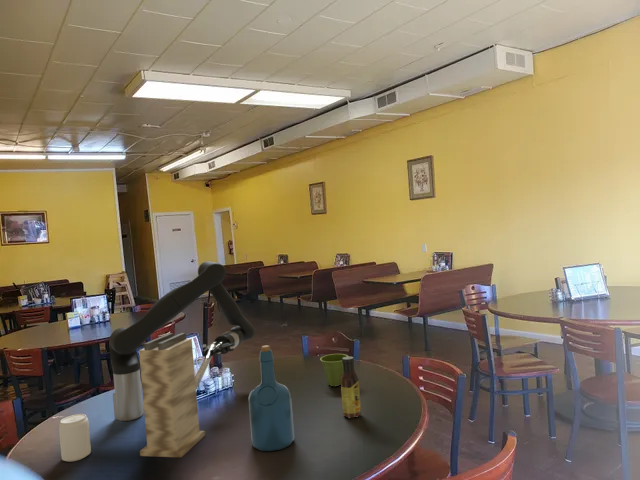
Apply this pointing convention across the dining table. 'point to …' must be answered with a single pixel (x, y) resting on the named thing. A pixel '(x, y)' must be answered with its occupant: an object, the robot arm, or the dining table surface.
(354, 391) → the sauce bottle
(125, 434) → the dining table surface
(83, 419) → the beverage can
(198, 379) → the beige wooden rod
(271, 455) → the dining table surface
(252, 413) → the wine bottle
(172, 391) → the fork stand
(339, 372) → the plant pot
